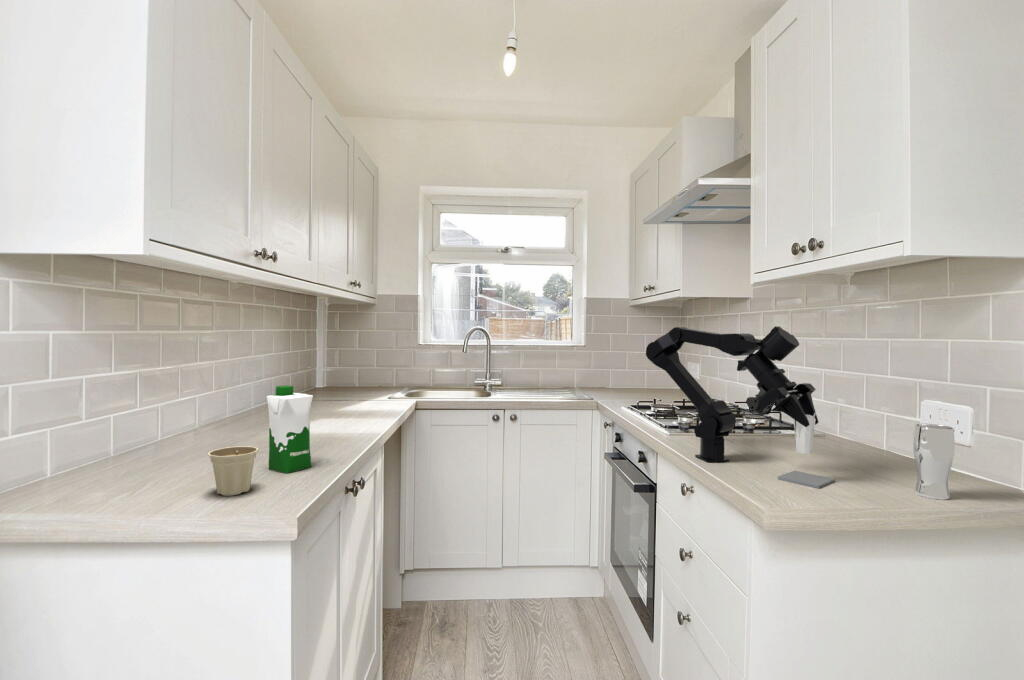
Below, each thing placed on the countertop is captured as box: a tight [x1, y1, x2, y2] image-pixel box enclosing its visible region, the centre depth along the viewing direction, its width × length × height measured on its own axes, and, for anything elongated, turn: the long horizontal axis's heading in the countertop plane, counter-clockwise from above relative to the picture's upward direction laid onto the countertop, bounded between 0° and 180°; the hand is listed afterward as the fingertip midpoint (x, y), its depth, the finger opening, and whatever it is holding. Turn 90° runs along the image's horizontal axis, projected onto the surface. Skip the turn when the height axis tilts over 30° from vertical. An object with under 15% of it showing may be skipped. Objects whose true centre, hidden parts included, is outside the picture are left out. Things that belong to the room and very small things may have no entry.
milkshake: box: [793, 412, 817, 455], centre depth 125 cm, size 4×5×10 cm
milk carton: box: [266, 385, 314, 474], centre depth 131 cm, size 9×9×20 cm
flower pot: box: [207, 445, 259, 497], centre depth 113 cm, size 9×9×9 cm
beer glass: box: [912, 423, 956, 501], centre depth 115 cm, size 7×7×15 cm
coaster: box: [777, 469, 836, 489], centre depth 126 cm, size 9×9×1 cm
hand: (812, 424), depth 124 cm, fingers closed on milkshake, 4 cm apart
